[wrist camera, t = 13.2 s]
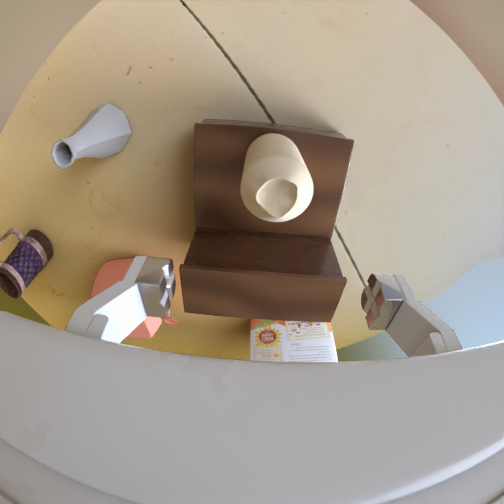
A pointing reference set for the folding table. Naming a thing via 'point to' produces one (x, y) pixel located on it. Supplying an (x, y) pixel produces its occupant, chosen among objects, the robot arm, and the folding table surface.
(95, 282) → the teapot
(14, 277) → the mug
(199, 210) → the wooden step stool
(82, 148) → the flask
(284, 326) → the cracker box
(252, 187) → the candle
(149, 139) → the folding table surface
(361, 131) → the folding table surface
